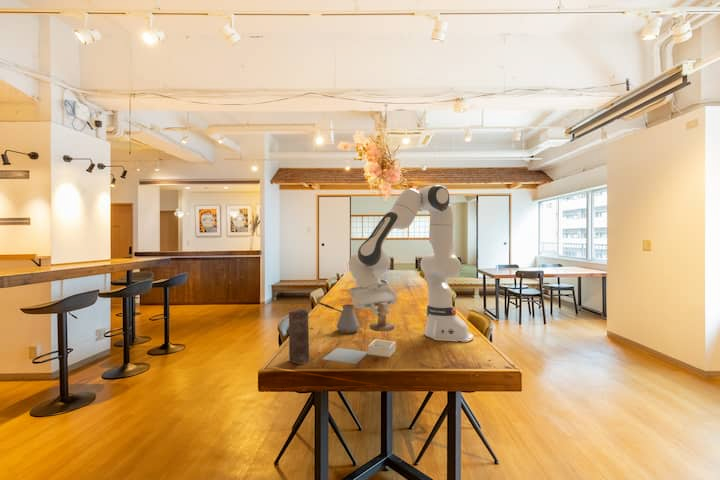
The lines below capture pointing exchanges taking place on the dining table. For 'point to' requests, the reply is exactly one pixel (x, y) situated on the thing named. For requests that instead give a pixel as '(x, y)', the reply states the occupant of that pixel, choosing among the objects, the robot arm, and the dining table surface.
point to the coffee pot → (346, 319)
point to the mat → (345, 355)
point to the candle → (298, 336)
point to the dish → (381, 348)
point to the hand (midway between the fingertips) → (382, 313)
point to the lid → (381, 320)
